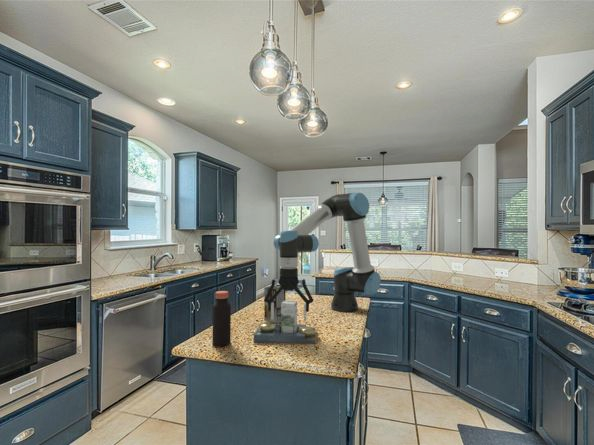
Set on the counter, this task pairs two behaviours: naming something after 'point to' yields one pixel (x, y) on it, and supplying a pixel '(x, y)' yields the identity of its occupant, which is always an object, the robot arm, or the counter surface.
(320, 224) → the robot arm
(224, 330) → the bottle
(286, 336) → the knobbed grey frame
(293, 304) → the syrup box
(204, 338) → the counter surface
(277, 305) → the coffee box
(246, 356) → the counter surface
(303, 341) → the grey base plate
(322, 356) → the counter surface
